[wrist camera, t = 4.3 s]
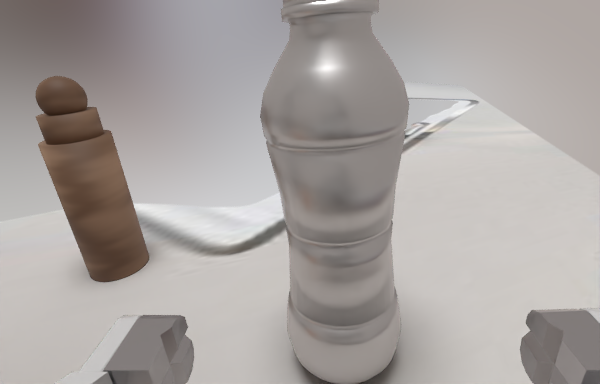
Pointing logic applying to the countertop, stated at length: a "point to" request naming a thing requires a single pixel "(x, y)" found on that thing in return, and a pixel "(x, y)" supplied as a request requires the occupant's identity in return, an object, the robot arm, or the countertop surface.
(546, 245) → the countertop surface
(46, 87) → the pepper mill
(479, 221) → the countertop surface
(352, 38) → the plastic bottle
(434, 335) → the countertop surface
